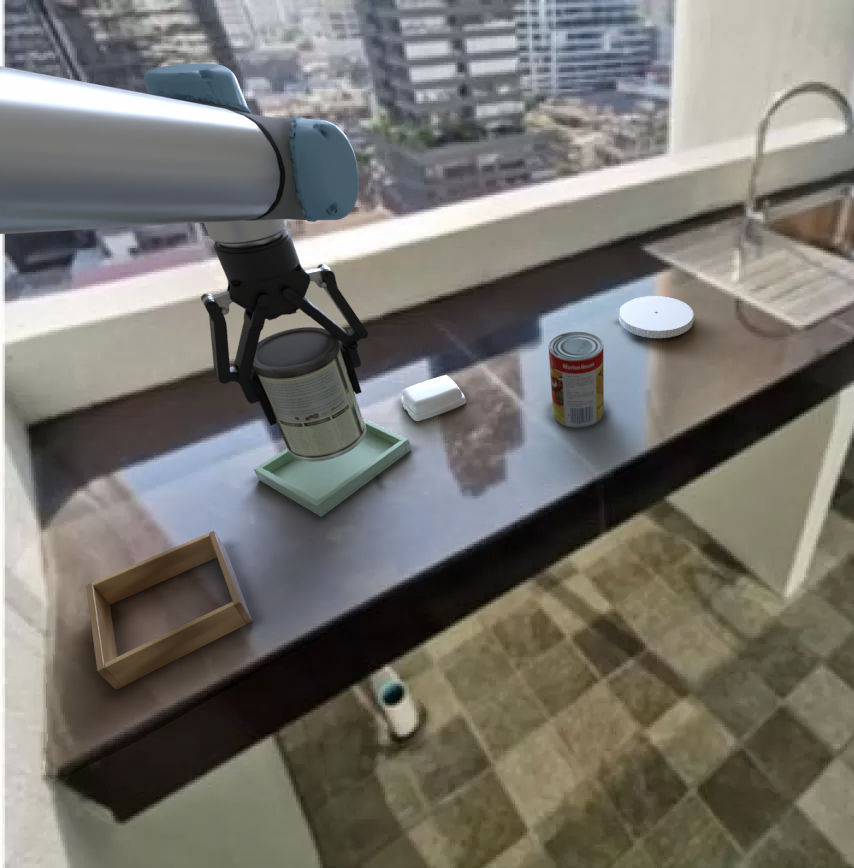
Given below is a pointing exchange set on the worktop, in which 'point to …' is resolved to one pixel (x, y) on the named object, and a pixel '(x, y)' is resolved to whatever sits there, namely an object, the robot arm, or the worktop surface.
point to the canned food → (577, 378)
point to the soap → (432, 398)
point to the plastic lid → (656, 317)
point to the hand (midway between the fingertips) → (314, 403)
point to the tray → (333, 470)
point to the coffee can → (309, 393)
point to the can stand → (175, 641)
